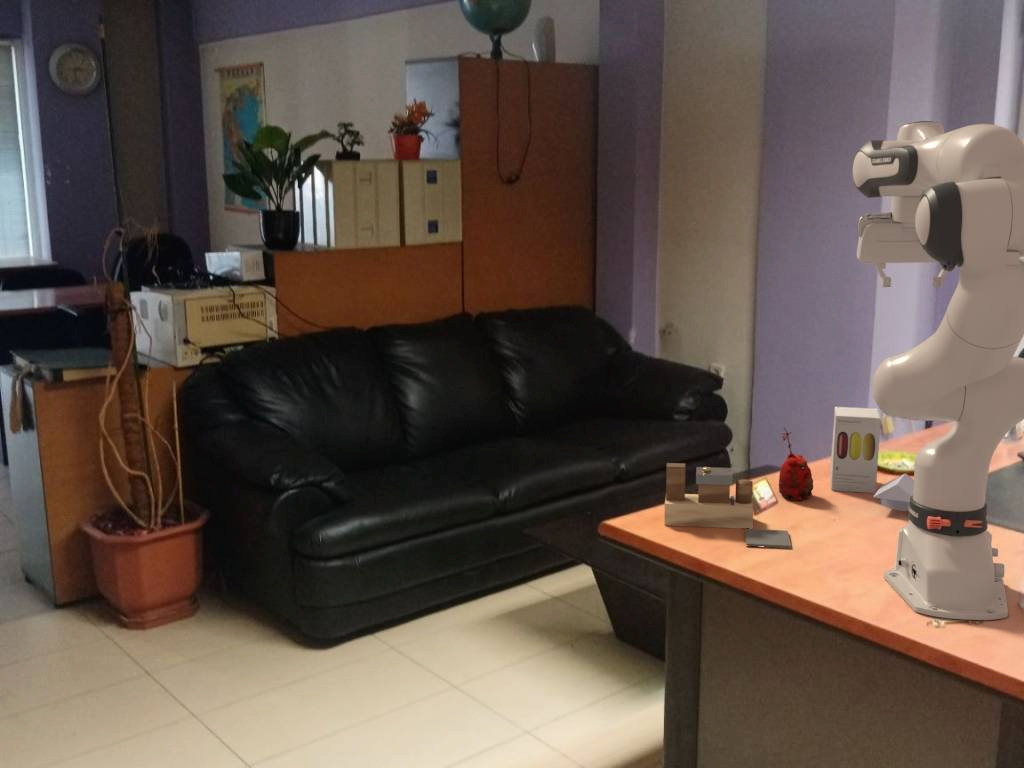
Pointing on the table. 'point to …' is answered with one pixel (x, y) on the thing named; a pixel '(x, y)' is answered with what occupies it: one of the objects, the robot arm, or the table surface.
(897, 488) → the white house model
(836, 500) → the table surface
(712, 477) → the lever cap
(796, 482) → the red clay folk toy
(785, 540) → the bench mat
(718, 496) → the wooden block toy
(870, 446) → the supplement box
